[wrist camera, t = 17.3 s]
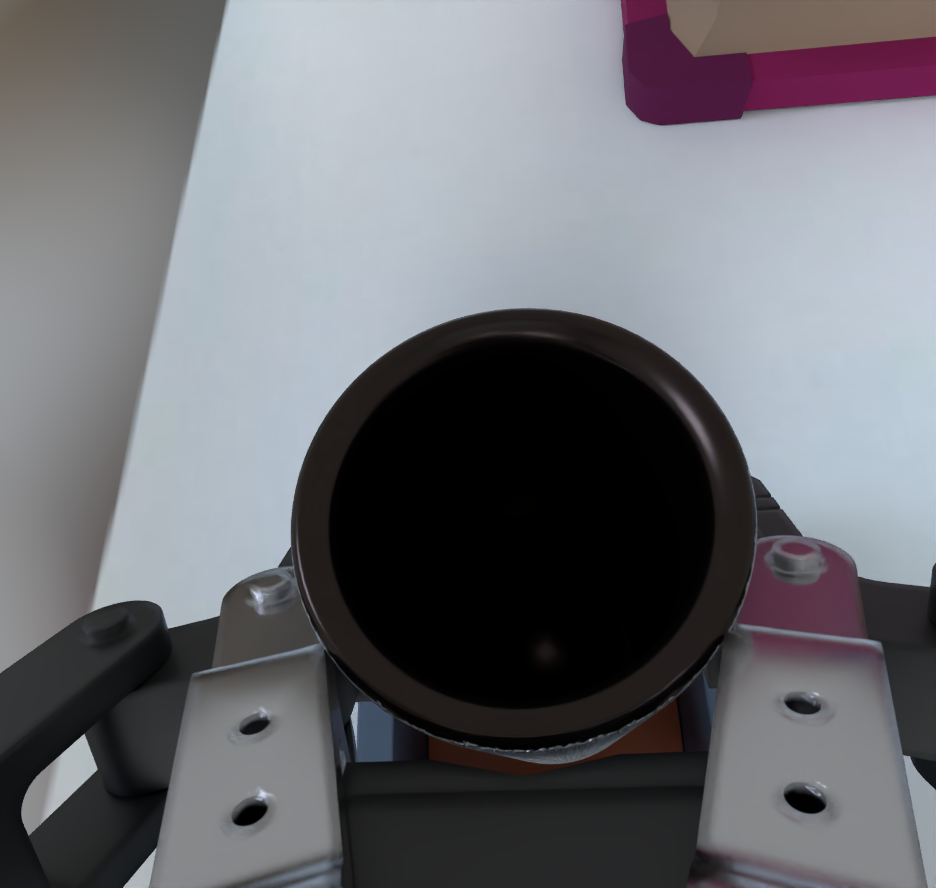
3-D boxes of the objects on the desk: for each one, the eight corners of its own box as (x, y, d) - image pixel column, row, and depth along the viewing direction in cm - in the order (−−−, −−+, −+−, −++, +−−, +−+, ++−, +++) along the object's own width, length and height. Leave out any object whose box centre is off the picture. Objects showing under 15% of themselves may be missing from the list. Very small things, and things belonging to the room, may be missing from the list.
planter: (408, 655, 17) (199, 507, 7) (543, 519, 17) (509, 234, 8) (552, 813, 15) (518, 886, 6) (693, 653, 16) (866, 485, 6)
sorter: (396, 1226, 15) (332, 1399, 11) (404, 536, 22) (365, 481, 18) (789, 1243, 14) (877, 1436, 10) (677, 518, 21) (704, 456, 17)
